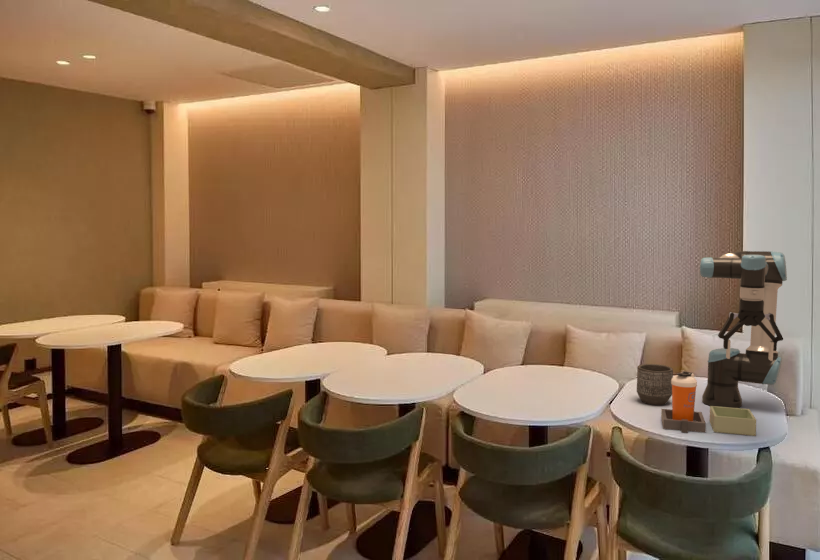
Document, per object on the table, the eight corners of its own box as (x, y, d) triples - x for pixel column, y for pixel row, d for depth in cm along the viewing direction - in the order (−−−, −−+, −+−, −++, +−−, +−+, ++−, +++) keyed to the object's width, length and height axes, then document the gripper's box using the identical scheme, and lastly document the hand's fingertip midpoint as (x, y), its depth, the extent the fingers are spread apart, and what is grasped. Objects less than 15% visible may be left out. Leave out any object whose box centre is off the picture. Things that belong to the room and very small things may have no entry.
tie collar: (661, 417, 253) (661, 406, 253) (701, 420, 249) (701, 409, 248) (663, 430, 237) (663, 419, 237) (706, 434, 233) (706, 422, 232)
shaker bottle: (665, 424, 244) (667, 373, 242) (675, 419, 250) (677, 369, 248) (689, 430, 238) (691, 377, 236) (699, 424, 244) (701, 373, 242)
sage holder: (709, 421, 248) (710, 405, 248) (748, 424, 244) (749, 409, 243) (714, 432, 235) (714, 416, 235) (755, 436, 231) (756, 419, 230)
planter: (672, 399, 278) (673, 365, 276) (671, 408, 265) (672, 372, 263) (638, 395, 284) (639, 362, 282) (634, 404, 271) (635, 369, 269)
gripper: (714, 299, 224) (712, 359, 227) (795, 301, 217) (791, 363, 220) (710, 296, 231) (708, 354, 234) (788, 298, 225) (785, 358, 227)
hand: (749, 359), depth 227 cm, fingers open, 13 cm apart
